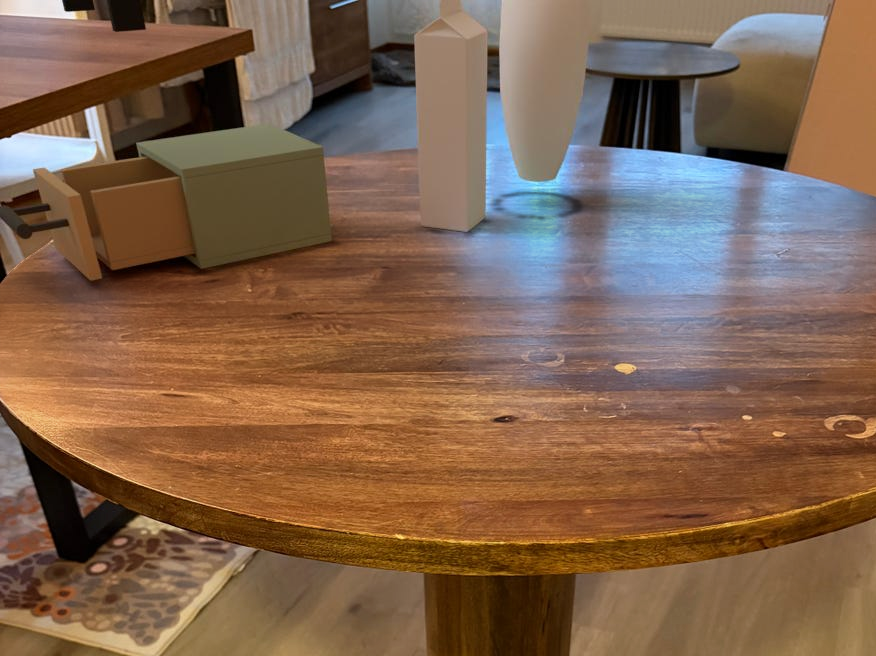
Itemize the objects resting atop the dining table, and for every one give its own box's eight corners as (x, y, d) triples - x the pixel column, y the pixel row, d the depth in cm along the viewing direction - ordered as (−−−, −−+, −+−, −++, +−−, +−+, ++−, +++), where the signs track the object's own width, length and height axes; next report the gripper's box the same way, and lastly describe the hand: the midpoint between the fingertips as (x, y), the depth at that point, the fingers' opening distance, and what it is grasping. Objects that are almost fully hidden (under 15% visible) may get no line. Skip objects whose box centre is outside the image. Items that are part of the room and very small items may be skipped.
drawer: (39, 291, 88) (13, 205, 83) (7, 257, 95) (-19, 176, 90) (227, 252, 97) (213, 172, 92) (185, 224, 104) (170, 148, 99)
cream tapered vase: (533, 185, 120) (542, -16, 106) (595, 202, 114) (613, -8, 100) (477, 201, 114) (479, -9, 100) (539, 220, 109) (550, 1, 94)
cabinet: (201, 269, 96) (182, 169, 89) (156, 236, 103) (135, 142, 97) (332, 241, 103) (323, 146, 96) (281, 212, 110) (269, 123, 104)
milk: (485, 218, 109) (490, -6, 95) (467, 233, 105) (468, 1, 91) (439, 211, 111) (436, -10, 96) (418, 226, 107) (412, -3, 92)
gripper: (140, -320, 65) (195, 36, 79) (36, -294, 80) (98, 1, 94) (30, -331, 61) (109, 43, 75) (-56, -302, 76) (23, 5, 90)
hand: (103, 20), depth 84 cm, fingers open, 13 cm apart
